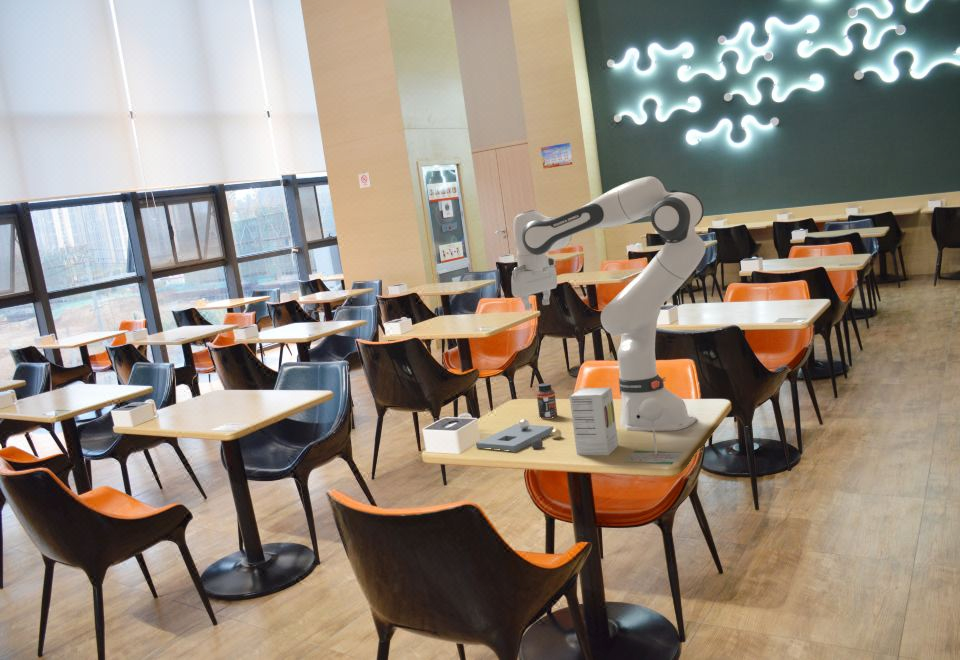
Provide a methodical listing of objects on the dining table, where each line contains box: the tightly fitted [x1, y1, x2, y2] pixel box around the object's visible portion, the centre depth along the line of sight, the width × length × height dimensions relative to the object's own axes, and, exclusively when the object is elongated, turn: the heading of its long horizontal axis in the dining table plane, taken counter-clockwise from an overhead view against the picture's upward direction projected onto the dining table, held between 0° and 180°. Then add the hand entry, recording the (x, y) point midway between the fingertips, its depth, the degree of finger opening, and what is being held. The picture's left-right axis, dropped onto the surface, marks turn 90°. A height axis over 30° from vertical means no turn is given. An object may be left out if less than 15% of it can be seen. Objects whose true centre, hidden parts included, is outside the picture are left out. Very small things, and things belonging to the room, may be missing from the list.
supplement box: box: [569, 386, 619, 456], centre depth 217 cm, size 10×9×17 cm
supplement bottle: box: [536, 382, 558, 419], centre depth 260 cm, size 6×6×11 cm
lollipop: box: [639, 398, 663, 455], centre depth 207 cm, size 6×6×15 cm
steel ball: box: [518, 419, 530, 430], centre depth 240 cm, size 3×3×3 cm
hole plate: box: [475, 423, 554, 452], centre depth 237 cm, size 20×14×2 cm
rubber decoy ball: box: [531, 439, 544, 450], centre depth 227 cm, size 3×3×3 cm
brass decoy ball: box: [550, 428, 563, 440], centre depth 234 cm, size 3×3×3 cm
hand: (537, 307), depth 251 cm, fingers open, 8 cm apart
